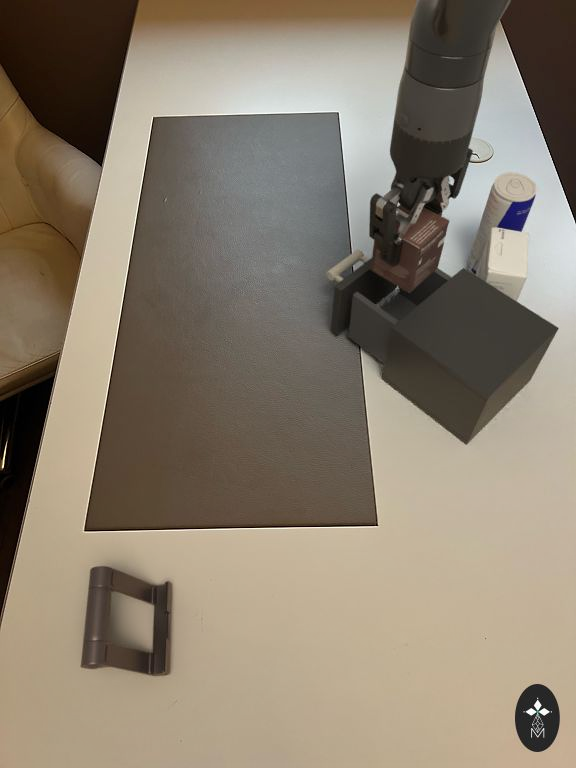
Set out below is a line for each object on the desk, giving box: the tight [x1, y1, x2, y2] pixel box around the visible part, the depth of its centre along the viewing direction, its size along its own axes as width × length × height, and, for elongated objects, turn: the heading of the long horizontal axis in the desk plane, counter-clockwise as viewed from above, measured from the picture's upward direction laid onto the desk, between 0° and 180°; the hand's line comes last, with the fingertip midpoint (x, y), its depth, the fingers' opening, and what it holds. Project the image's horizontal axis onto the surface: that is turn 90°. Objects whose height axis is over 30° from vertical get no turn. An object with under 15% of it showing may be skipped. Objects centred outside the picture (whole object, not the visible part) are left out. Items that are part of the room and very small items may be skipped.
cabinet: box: [381, 267, 559, 445], centre depth 76 cm, size 14×14×11 cm
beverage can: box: [466, 172, 538, 275], centre depth 86 cm, size 6×6×15 cm
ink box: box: [476, 227, 530, 302], centre depth 82 cm, size 9×5×12 cm, turn 167°
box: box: [370, 204, 450, 293], centre depth 72 cm, size 6×6×7 cm
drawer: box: [325, 248, 453, 365], centre depth 81 cm, size 17×12×9 cm
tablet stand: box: [80, 565, 173, 677], centre depth 60 cm, size 9×8×8 cm
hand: (408, 246), depth 72 cm, fingers closed on box, 6 cm apart
